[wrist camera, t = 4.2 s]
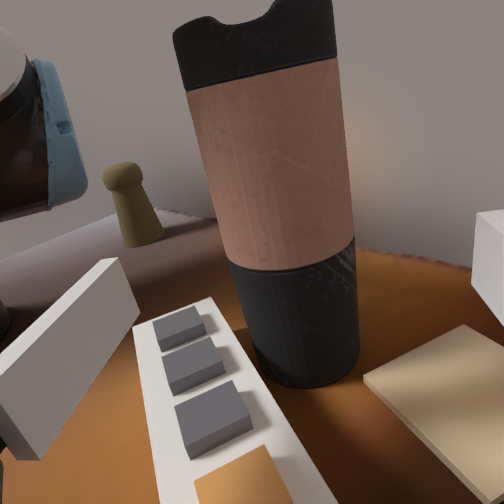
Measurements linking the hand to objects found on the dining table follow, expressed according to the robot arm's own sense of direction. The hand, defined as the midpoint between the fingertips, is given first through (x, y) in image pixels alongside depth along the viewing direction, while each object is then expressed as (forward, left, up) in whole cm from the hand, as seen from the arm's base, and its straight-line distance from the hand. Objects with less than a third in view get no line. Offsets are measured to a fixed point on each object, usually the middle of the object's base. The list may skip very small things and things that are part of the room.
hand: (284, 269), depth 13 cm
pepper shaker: (-41, -4, -11) cm, 43 cm away
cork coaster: (+1, +9, -11) cm, 14 cm away
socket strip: (-4, -4, -11) cm, 12 cm away
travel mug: (-7, +3, -11) cm, 14 cm away
